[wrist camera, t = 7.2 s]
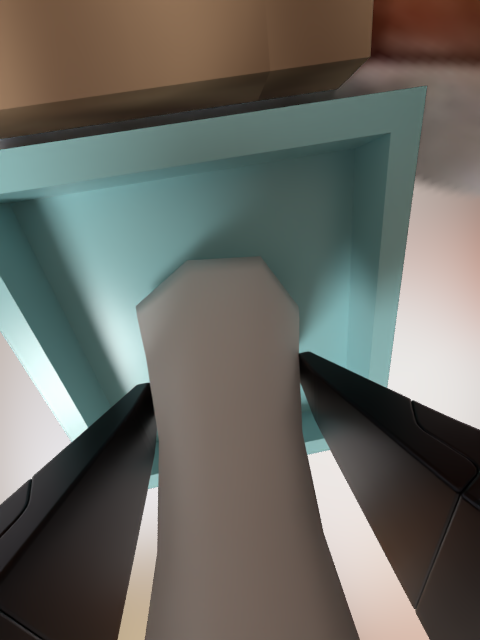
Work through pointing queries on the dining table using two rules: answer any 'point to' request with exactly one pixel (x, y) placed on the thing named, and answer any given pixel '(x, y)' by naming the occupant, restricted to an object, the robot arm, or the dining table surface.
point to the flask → (234, 463)
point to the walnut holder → (168, 56)
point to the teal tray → (206, 237)
